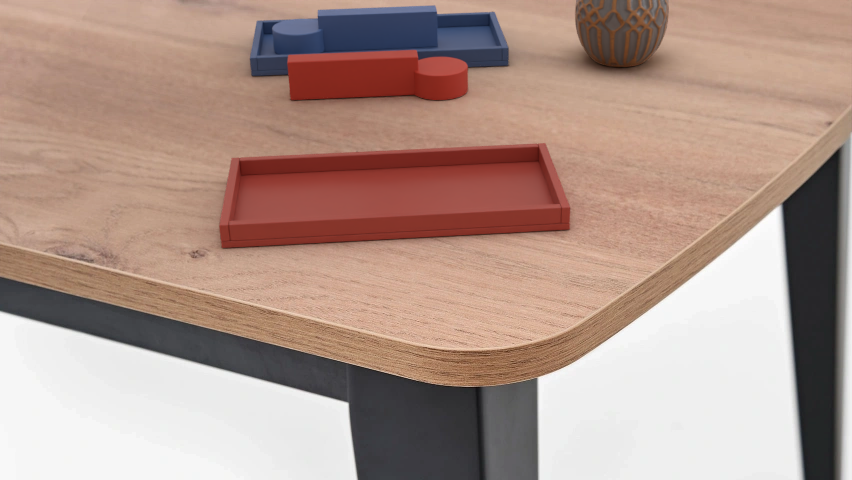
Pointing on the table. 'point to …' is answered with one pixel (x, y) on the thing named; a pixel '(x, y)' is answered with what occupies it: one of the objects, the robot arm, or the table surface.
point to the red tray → (391, 195)
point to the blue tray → (457, 38)
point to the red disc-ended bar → (375, 75)
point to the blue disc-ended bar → (358, 30)
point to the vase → (621, 29)
